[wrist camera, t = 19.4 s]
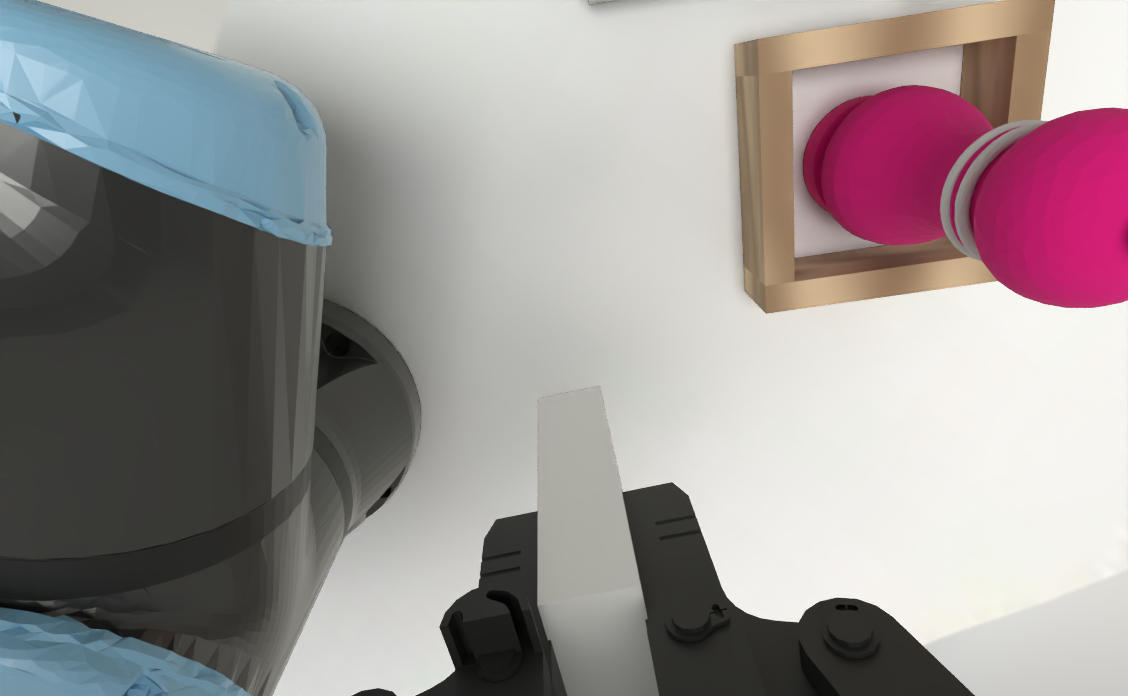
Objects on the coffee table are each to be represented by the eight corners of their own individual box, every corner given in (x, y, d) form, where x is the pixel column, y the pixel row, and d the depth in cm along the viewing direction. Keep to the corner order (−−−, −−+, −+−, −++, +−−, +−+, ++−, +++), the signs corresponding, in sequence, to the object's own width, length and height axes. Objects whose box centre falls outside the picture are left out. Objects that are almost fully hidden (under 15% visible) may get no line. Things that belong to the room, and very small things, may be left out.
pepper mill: (819, 71, 33) (1157, 54, 15) (951, 101, 34) (1435, 121, 15) (774, 211, 36) (1013, 347, 17) (897, 236, 36) (1255, 393, 18)
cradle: (744, 290, 37) (765, 313, 34) (734, 44, 33) (757, 39, 29) (974, 258, 37) (1021, 277, 33) (997, 3, 32) (1055, -8, 28)
